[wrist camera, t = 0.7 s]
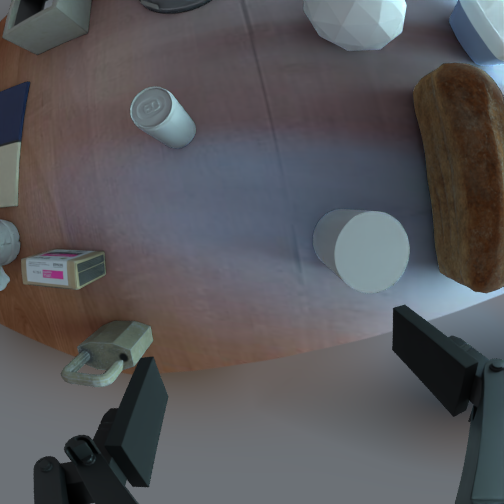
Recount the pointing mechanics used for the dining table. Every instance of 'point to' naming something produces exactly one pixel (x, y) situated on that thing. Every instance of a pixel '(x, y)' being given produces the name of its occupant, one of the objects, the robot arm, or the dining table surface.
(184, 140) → the beverage can
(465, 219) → the bread
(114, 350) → the padlock
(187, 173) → the dining table surface
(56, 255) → the ink box
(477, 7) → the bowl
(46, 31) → the grey open box
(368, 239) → the white cylinder
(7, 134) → the board
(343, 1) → the geodesic sphere
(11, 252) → the mug
